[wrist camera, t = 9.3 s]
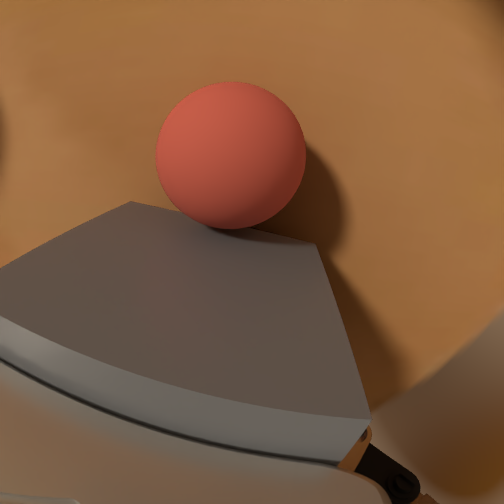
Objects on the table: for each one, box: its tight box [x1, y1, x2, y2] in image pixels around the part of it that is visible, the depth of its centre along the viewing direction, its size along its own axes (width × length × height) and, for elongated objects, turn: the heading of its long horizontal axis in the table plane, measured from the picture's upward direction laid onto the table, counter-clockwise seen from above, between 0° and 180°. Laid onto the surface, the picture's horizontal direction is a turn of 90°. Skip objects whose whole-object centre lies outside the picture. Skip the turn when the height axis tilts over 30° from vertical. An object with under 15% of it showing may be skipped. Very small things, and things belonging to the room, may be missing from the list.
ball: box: [156, 82, 306, 229], centre depth 10 cm, size 5×5×5 cm
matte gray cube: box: [0, 201, 372, 466], centre depth 9 cm, size 8×8×9 cm
